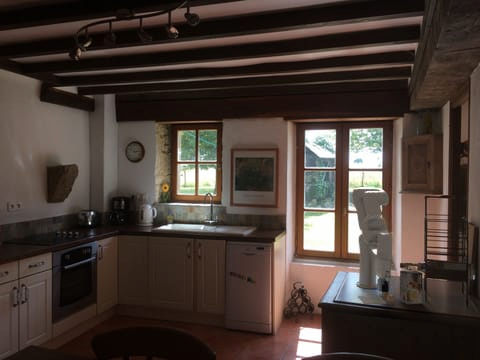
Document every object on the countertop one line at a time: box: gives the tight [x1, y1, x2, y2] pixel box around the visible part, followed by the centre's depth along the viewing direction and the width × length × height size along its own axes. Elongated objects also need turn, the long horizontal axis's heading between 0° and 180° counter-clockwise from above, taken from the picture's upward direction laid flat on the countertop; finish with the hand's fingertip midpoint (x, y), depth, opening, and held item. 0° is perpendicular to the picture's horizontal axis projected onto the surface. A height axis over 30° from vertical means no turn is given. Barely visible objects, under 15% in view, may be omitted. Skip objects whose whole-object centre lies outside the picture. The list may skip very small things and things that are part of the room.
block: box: [376, 278, 391, 293], centre depth 199 cm, size 4×5×6 cm
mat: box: [357, 295, 388, 305], centre depth 199 cm, size 11×12×1 cm
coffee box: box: [399, 269, 423, 305], centre depth 197 cm, size 9×6×16 cm
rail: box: [381, 291, 395, 305], centre depth 198 cm, size 12×2×4 cm, turn 179°
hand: (383, 290), depth 199 cm, fingers closed on block, 3 cm apart
